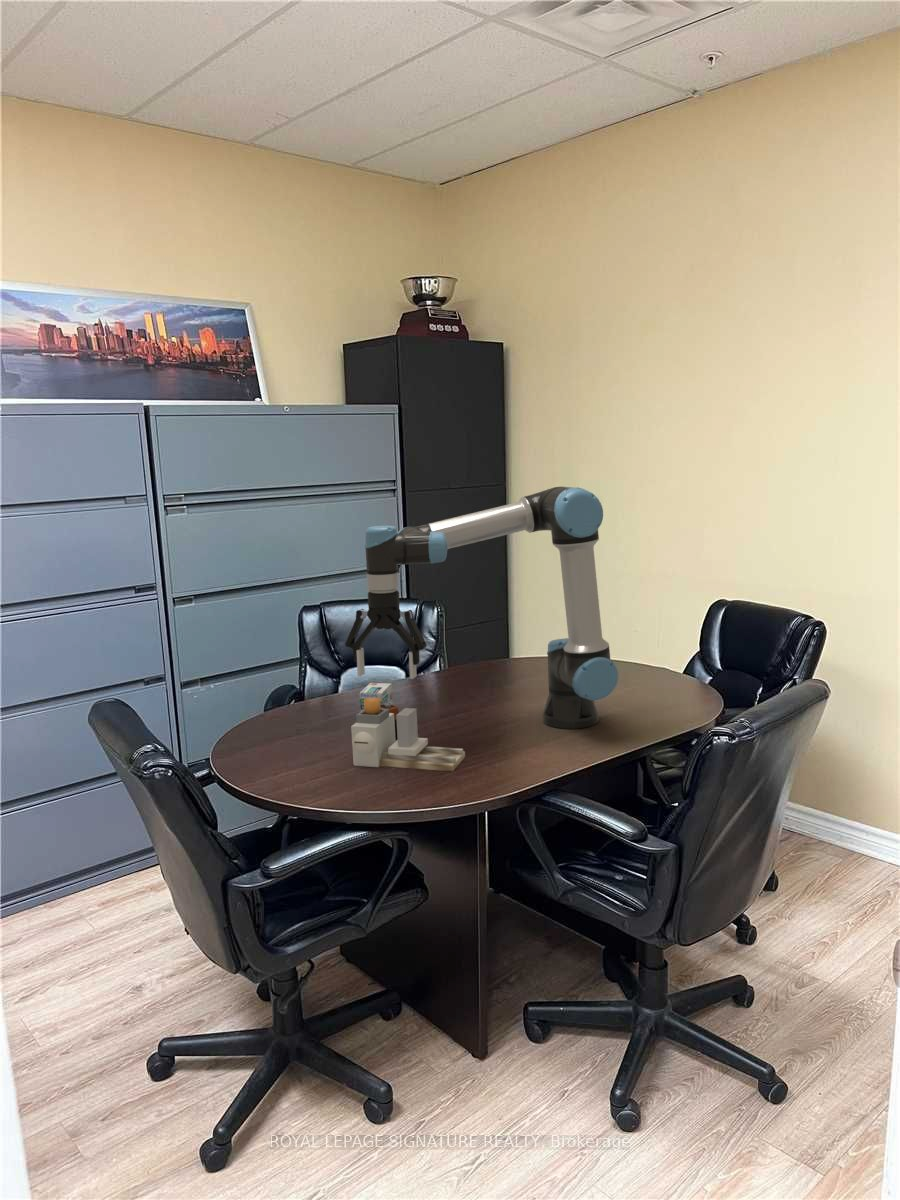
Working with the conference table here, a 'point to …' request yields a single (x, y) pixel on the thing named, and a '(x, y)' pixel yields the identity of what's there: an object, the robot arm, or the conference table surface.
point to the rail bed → (426, 759)
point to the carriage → (407, 734)
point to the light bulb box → (377, 693)
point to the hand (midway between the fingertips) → (387, 676)
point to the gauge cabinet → (372, 737)
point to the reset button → (372, 705)
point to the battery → (391, 710)
